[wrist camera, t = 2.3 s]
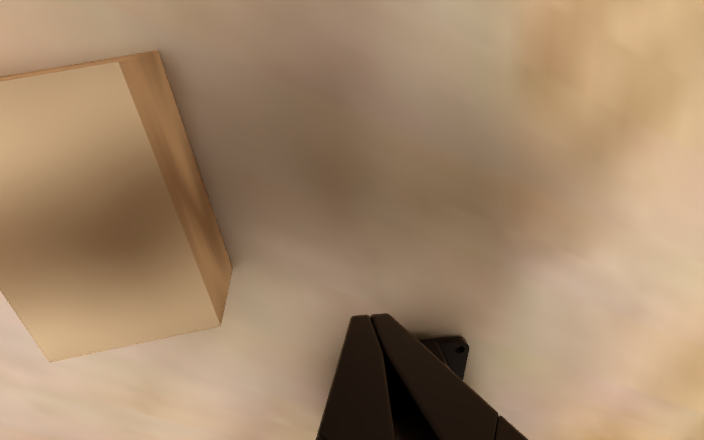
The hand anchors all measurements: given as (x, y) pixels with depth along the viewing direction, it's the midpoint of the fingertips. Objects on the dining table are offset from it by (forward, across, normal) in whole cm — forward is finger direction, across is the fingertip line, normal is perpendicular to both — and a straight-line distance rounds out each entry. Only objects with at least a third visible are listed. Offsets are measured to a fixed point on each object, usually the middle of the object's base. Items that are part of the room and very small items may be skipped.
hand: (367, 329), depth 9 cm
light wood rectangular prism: (+9, +8, 0) cm, 12 cm away
